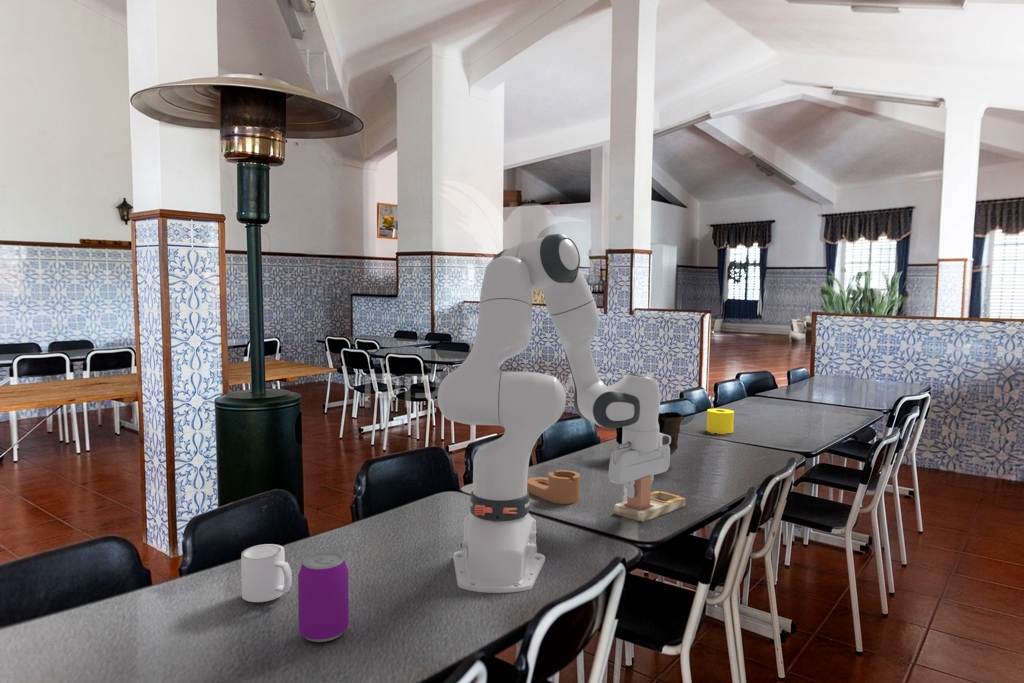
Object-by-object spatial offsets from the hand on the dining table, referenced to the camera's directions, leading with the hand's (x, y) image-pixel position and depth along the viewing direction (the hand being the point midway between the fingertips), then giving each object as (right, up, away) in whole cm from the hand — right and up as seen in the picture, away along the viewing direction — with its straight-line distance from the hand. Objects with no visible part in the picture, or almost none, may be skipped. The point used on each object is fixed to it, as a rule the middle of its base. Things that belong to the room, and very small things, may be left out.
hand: (638, 495), depth 166 cm
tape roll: (+50, +1, +98) cm, 110 cm away
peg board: (+4, -5, +4) cm, 7 cm away
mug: (-75, -8, -45) cm, 88 cm away
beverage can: (-61, -9, -58) cm, 85 cm away
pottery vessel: (+12, -2, +52) cm, 53 cm away
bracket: (-20, -4, +16) cm, 27 cm away
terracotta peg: (0, -5, 0) cm, 5 cm away
